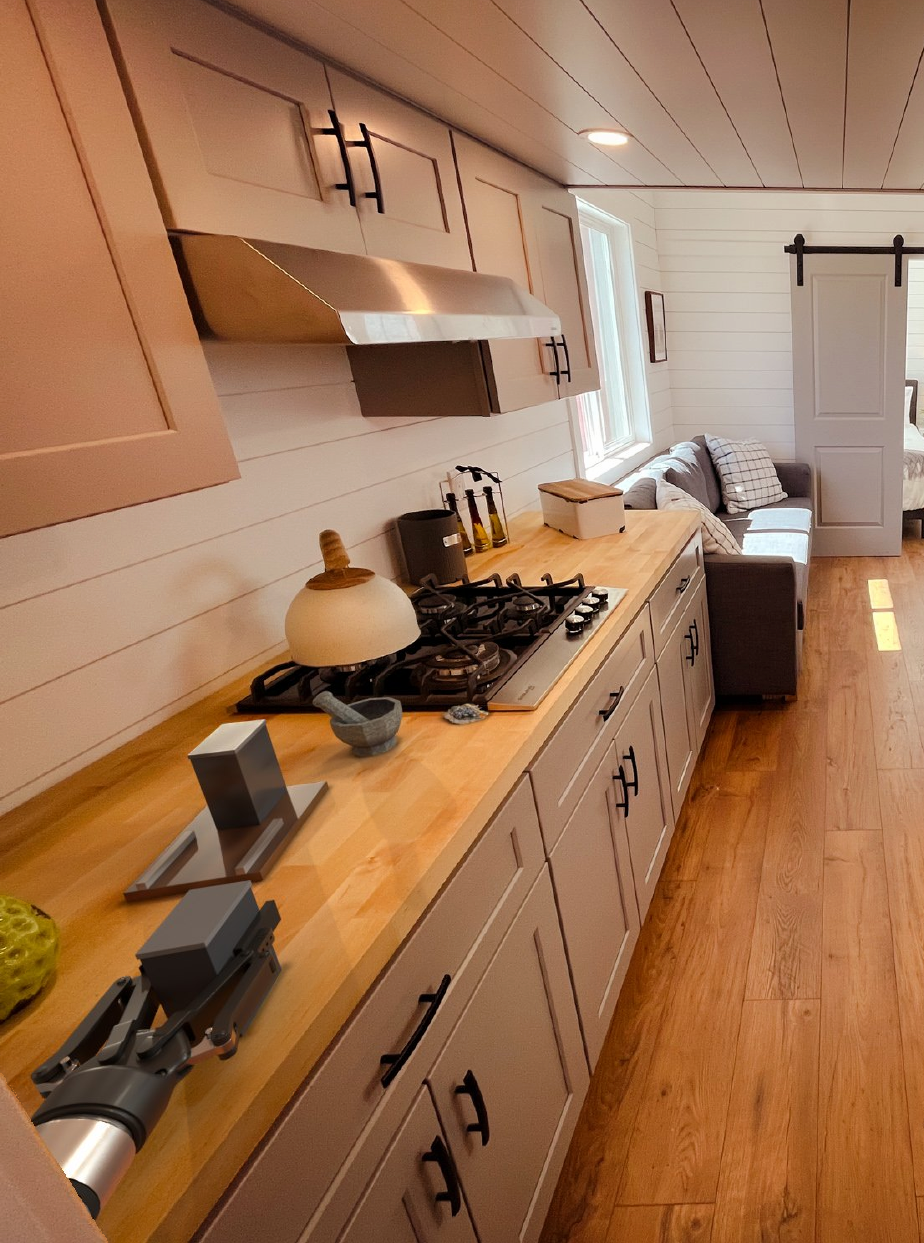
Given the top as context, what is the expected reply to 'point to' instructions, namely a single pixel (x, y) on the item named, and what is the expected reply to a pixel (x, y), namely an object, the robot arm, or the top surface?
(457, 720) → the blueberries
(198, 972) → the loose pad
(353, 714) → the mortar and pestle
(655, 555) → the top surface
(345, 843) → the top surface
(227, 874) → the pad base
